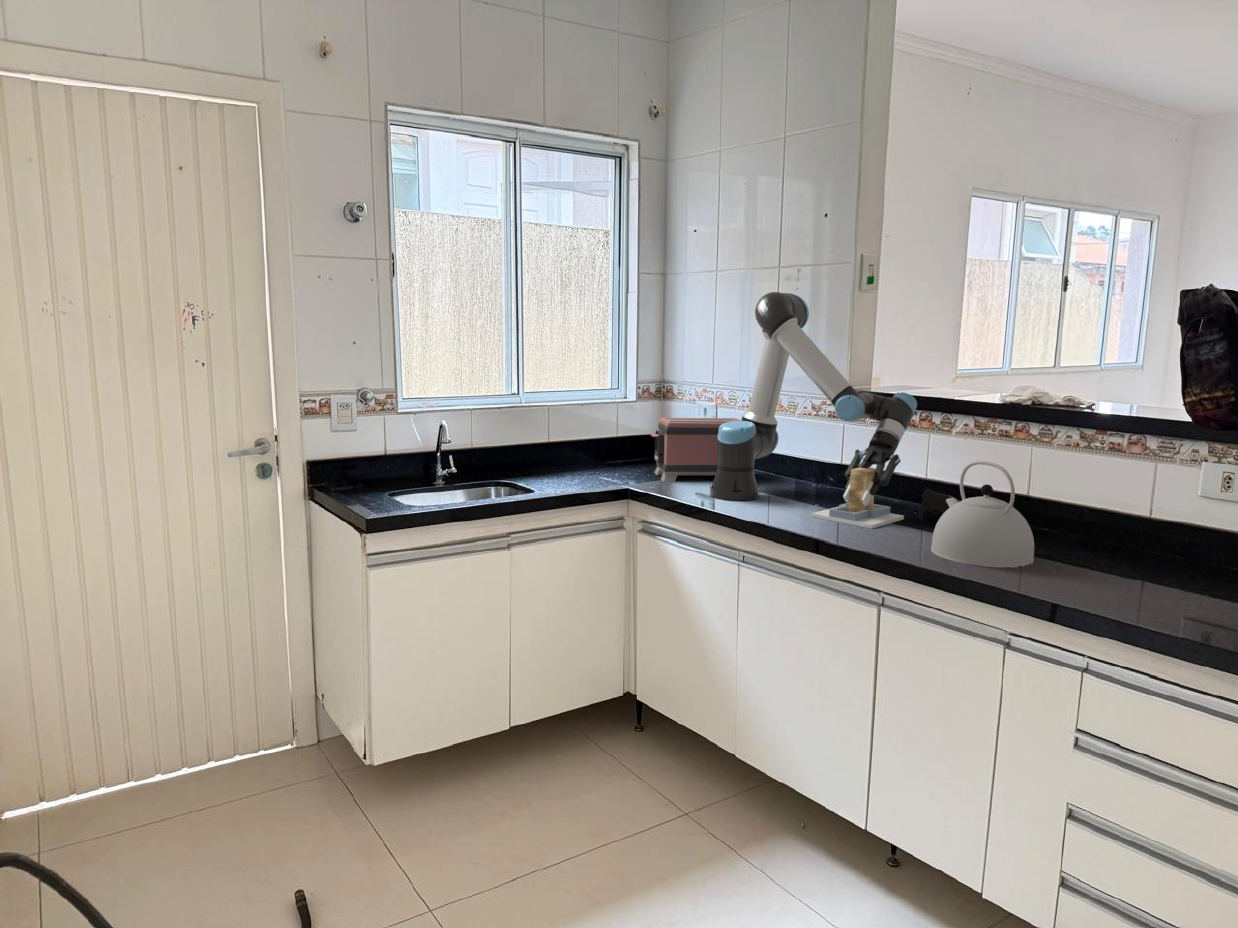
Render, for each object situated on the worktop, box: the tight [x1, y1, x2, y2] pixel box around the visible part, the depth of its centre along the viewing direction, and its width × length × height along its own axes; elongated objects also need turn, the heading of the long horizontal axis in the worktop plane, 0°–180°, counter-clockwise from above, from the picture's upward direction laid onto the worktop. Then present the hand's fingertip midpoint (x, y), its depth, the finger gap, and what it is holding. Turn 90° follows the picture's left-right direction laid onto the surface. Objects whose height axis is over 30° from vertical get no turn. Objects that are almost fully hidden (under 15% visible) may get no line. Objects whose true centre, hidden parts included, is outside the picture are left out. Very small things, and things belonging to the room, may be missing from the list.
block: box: [848, 468, 876, 512], centre depth 239 cm, size 5×5×12 cm
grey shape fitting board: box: [810, 502, 905, 529], centre depth 239 cm, size 19×18×3 cm
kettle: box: [930, 460, 1035, 568], centre depth 201 cm, size 25×23×22 cm
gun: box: [917, 488, 961, 522], centre depth 236 cm, size 3×16×10 cm, turn 79°
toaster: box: [650, 417, 742, 483], centre depth 301 cm, size 19×34×21 cm, turn 97°
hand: (854, 500), depth 237 cm, fingers closed on block, 5 cm apart
